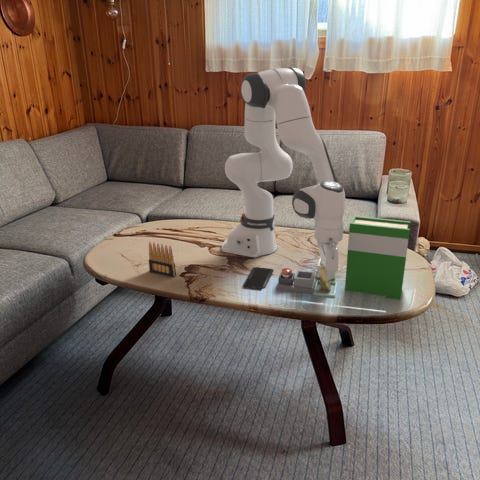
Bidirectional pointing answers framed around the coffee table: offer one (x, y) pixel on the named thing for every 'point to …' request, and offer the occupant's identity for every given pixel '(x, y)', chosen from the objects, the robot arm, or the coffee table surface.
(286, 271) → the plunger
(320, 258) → the white square bin
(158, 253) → the ammunition clip
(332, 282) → the pale green rectangular frame
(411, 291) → the coffee table surface
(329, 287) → the cell
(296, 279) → the grey socket holder
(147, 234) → the coffee table surface
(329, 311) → the coffee table surface
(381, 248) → the hardback book
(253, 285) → the phone
